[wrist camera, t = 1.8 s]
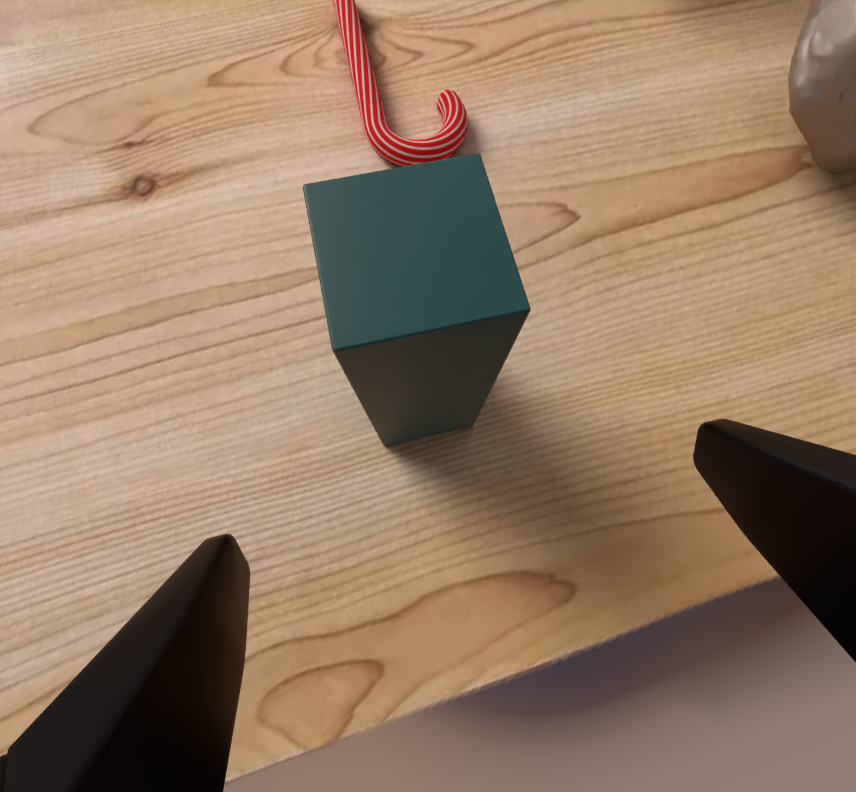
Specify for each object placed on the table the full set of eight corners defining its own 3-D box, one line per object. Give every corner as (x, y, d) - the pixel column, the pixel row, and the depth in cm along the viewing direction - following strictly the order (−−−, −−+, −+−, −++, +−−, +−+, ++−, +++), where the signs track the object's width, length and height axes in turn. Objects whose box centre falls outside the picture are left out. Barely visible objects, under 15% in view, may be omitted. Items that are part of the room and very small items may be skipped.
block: (473, 426, 21) (532, 309, 9) (383, 446, 21) (332, 351, 9) (451, 344, 22) (480, 151, 11) (366, 362, 22) (302, 183, 10)
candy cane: (418, -10, 30) (418, -37, 28) (477, 162, 25) (481, 140, 24) (330, 4, 29) (326, -23, 28) (376, 181, 25) (373, 160, 24)
